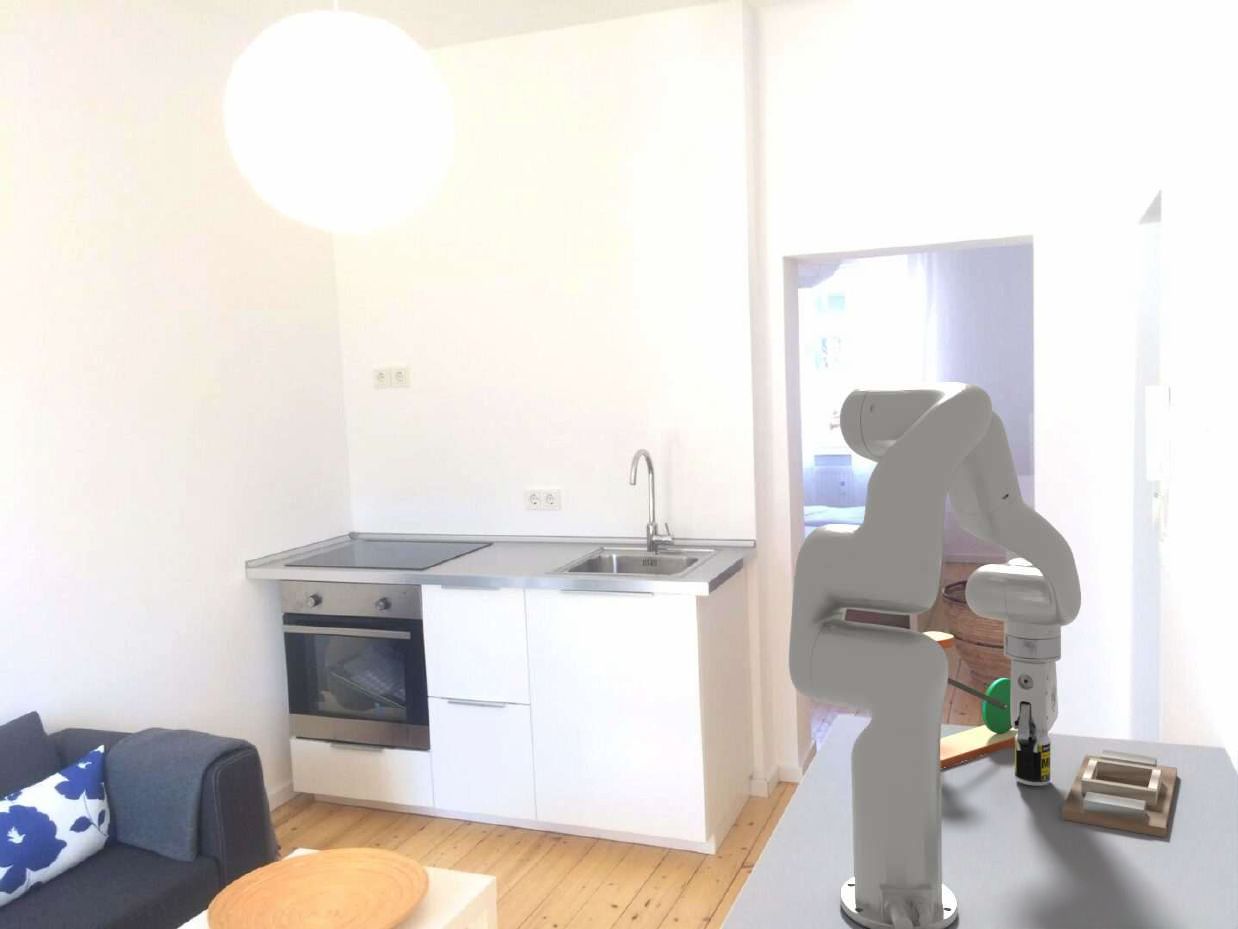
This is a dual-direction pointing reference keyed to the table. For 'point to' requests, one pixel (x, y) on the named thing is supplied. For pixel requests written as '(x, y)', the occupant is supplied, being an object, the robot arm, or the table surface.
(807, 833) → the table surface
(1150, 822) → the jig board
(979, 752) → the crank mechanism
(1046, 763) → the supplement bottle
